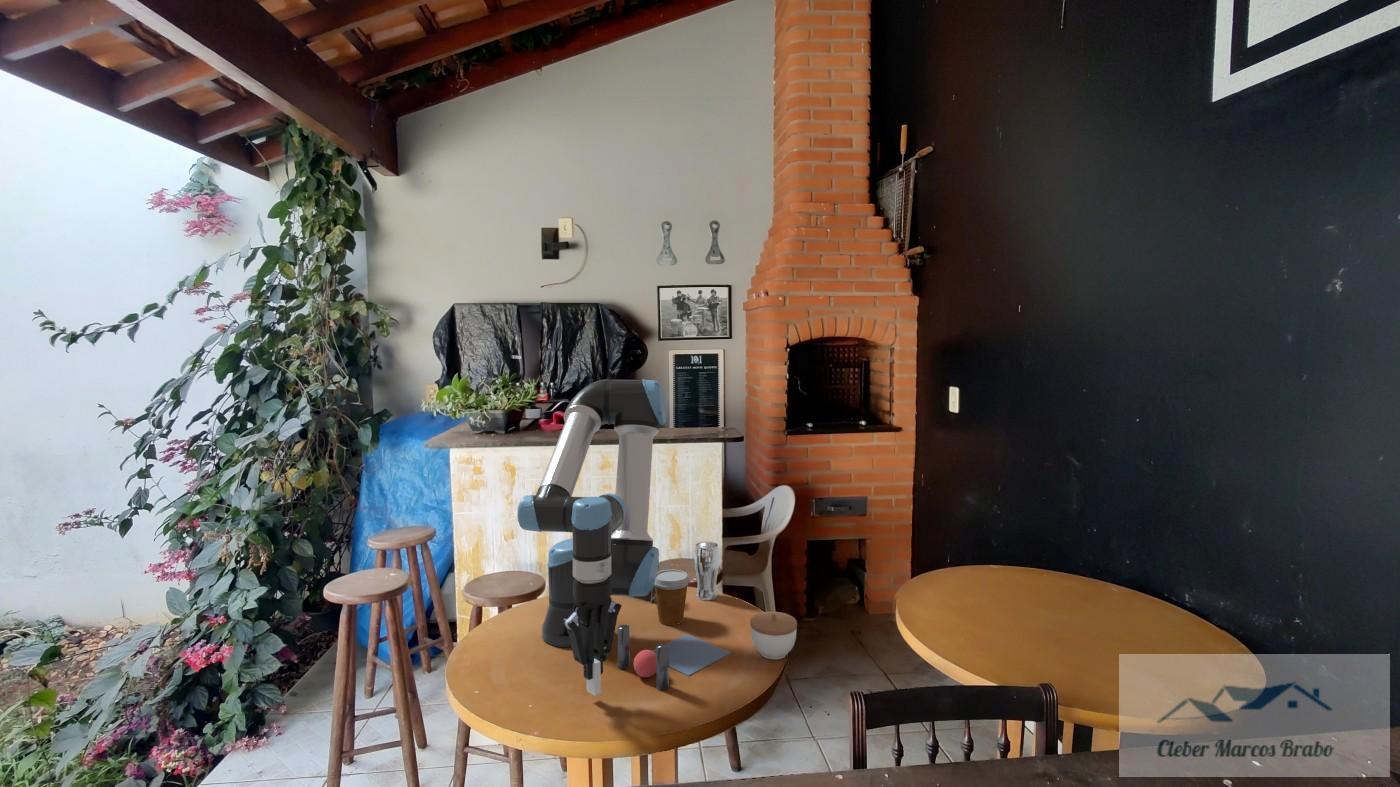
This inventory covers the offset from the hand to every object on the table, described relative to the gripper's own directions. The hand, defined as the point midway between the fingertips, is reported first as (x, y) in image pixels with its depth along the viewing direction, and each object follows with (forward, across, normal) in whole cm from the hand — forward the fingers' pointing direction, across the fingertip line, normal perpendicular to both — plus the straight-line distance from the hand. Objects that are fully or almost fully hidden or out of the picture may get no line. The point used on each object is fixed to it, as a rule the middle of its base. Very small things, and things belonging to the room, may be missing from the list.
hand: (593, 691), depth 127 cm
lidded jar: (+2, +41, -14) cm, 43 cm away
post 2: (+2, +13, -6) cm, 15 cm away
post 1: (+2, +13, +6) cm, 15 cm away
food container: (+2, +43, +33) cm, 54 cm away
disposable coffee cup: (+2, +37, +16) cm, 40 cm away
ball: (-1, +14, 0) cm, 14 cm away
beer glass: (+2, +55, +20) cm, 59 cm away
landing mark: (+2, +27, 0) cm, 27 cm away
